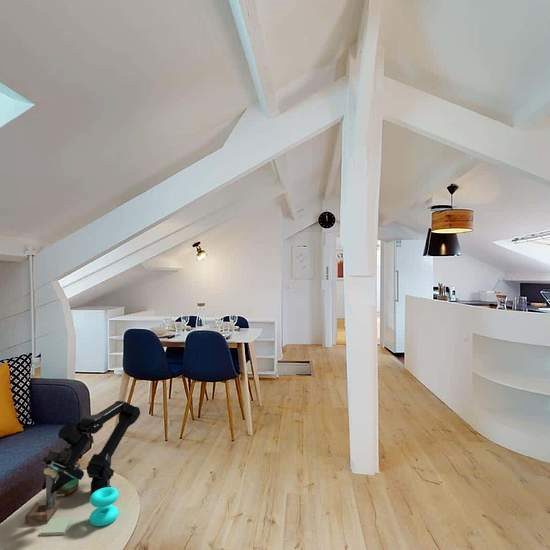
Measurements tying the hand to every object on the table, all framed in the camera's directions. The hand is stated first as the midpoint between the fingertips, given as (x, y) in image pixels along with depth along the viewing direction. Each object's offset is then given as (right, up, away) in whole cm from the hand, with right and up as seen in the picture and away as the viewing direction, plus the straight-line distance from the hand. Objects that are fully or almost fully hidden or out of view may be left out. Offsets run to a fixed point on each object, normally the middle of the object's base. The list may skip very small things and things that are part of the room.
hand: (46, 491), depth 141 cm
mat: (+5, -13, -1) cm, 13 cm away
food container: (-2, -13, +21) cm, 25 cm away
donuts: (+19, -13, +4) cm, 24 cm away
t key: (+1, -7, +1) cm, 7 cm away
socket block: (-5, -12, +5) cm, 14 cm away
